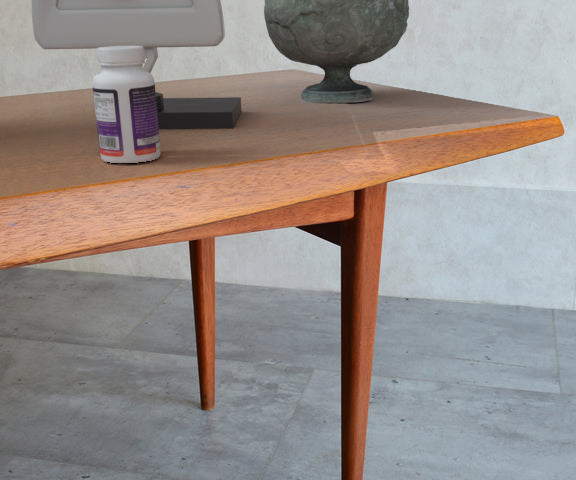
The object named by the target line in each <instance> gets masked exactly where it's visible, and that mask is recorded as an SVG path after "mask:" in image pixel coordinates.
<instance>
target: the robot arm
mask: <svg viewBox="0 0 576 480" xmlns="http://www.w3.org/2000/svg"><path fill="white" fill-rule="evenodd" d="M223 12H224V11H223V6H222V1H221V0H31V20H32V21H31V23H32V31H33V37H34V40H35V42H36V43H37V44H38V45H39V46H40V47H41V48H42V49H43V50H81V49H82V50H84V49H85V50H87V49H88V50H89V49H95V50H96V49H97V48H99V47H108V46H143V47H144V54H145V63H144V64H143V70H144V71H146V72H149V73H150V74H152V70H153V68H154V67H155V65H156V62H157V60H158V58H159V54H158V48H196V47H198V48H200V47H201V48H203V47H204V48H205V47H217V46H219V45H220V44H222V42H223V41H224V39H225V37H226V30H225V19H224V13H223Z"/></svg>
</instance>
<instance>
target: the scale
mask: <svg viewBox="0 0 576 480" xmlns="http://www.w3.org/2000/svg"><path fill="white" fill-rule="evenodd" d="M155 92H156V103H157V116H158V127H159V130H234V128H235V126H236V124H237V123H238V120H239V118H240V117H241V114H242V98H241V97H240V96H237V97H235V96H234V97H232V96H231V97H230V96H229V97H164V94H163V93H161V92H157V91H155Z"/></svg>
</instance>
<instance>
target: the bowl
mask: <svg viewBox="0 0 576 480" xmlns="http://www.w3.org/2000/svg"><path fill="white" fill-rule="evenodd" d="M263 15H264V16H263V18H264V21H265V22H264V23H265V26H266V30H267V34H268V37H269V39H270V41H271V42H272V44H273V45H274V47H275V49H276V50H277V52H279V53H280V54H281V55H282V56H284V57H285V58H286V59H288V60H290V61H292V62H296V63H301V64H305V65H308V66H309V65H310V66H315V67H317V68H320V69H322V70H323V72H324V75H323V76H324V77H323V79H322V80H321V81H320V82H318V83H315V84H311V85H308V86H306V87H305V88H304V89H303V90H302V92H301V100H302V101H303V102H304V101H305V102H308V103H317V104H348V103H349V104H350V103H362V102H367V101H373V100H374V92H373V90H372V89H371V88H370V87H369V86H368V85H365V84H360V83H357V82H356V81H354V80H353V79H352V77H351V70H352V69H353V68H355V67H356V66H358V65H362V64H368V63H371V62H374V61H376V60H378V59H381V58H382V57H383V56H384V55H386V54H387V53H388V52H390V51H391V50H392V49H394V48H395V47H397V45H398V44H399V42H400V40H401V38H402V37H403V36H404V34H405V33H406V31H407V28H408V19H409V17H410V3H409V0H264V7H263Z"/></svg>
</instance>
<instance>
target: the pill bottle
mask: <svg viewBox="0 0 576 480" xmlns="http://www.w3.org/2000/svg"><path fill="white" fill-rule="evenodd" d="M96 54H97V62H98V64H97V65H98V66H100V68H101V70H100V72H98V73H97V74H95V75H94V77H92V81H91V85H92V94H93V104H94V105H93V106H94V112H95V114H94V115H95V121H96V129H97V140H98V146H99V155H100V158H101V161H103V162H104V163H107V162H110V163H109V164H111V163H137V164H139V163H138V162H145V163H147V162H146V161H150V162H153V161H156V160H157V159H159V158H160V157H161V152H162V151H161V140H160V129H159V127H158V116H157V103H156V92H157V91H156V83H155V77H154V76H153V74H152V73H149V72H146V71H144V70H143V67H144V65H145V63H146V59H145V54H144V47H143V46H108V47H99V48H96ZM155 159H156V160H155ZM152 160H153V161H152Z"/></svg>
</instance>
